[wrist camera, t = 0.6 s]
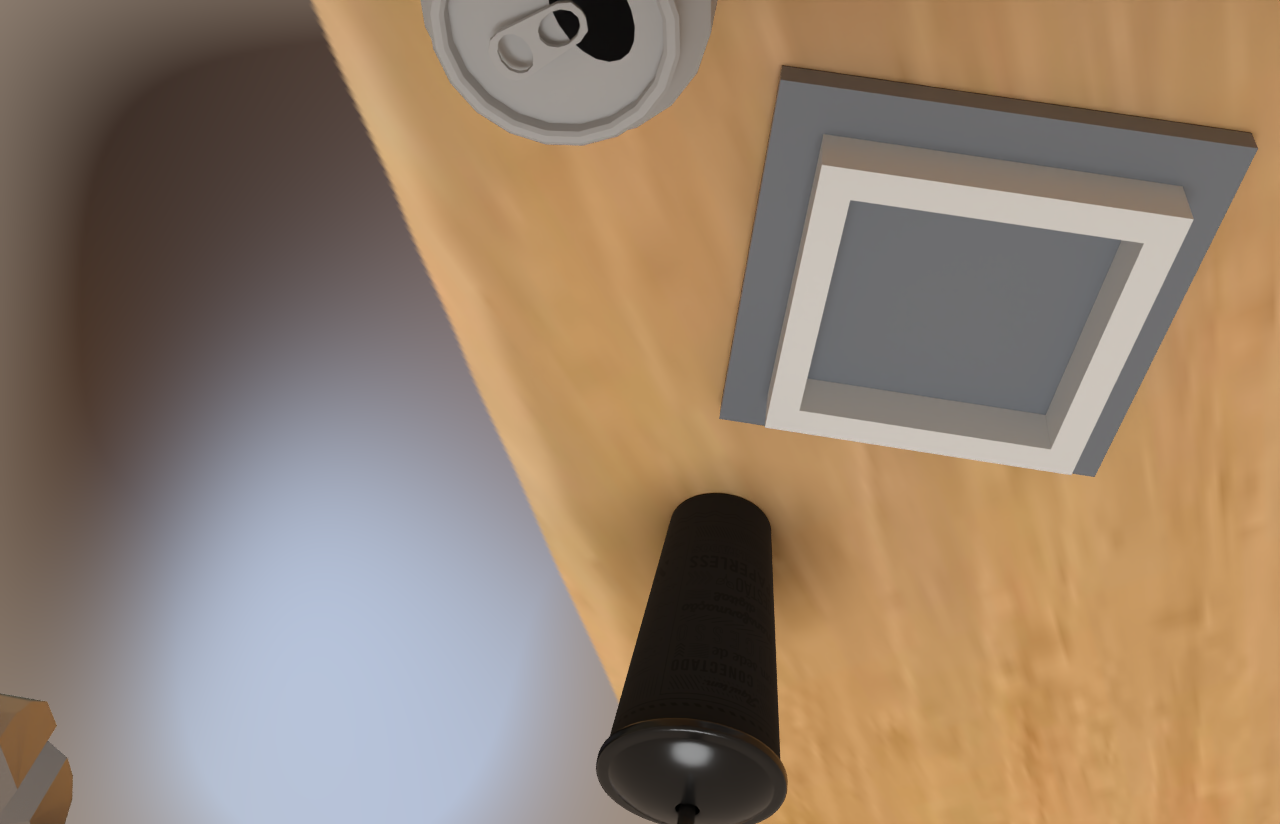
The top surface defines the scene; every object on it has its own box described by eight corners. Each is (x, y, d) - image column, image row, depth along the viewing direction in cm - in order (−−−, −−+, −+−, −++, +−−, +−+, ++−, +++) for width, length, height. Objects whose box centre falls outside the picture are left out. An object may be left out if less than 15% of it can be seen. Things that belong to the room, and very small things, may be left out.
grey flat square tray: (782, 65, 42) (777, 109, 40) (1251, 133, 42) (1272, 181, 39) (721, 402, 53) (715, 451, 51) (1091, 460, 53) (1100, 511, 50)
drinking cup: (772, 458, 55) (738, 884, 41) (820, 566, 60) (805, 984, 45) (617, 486, 58) (533, 896, 43) (674, 588, 62) (615, 989, 48)
